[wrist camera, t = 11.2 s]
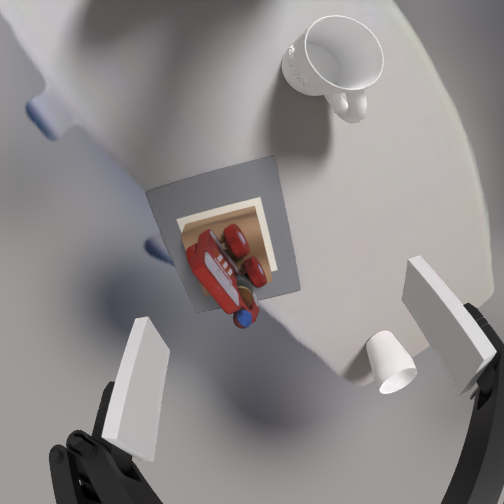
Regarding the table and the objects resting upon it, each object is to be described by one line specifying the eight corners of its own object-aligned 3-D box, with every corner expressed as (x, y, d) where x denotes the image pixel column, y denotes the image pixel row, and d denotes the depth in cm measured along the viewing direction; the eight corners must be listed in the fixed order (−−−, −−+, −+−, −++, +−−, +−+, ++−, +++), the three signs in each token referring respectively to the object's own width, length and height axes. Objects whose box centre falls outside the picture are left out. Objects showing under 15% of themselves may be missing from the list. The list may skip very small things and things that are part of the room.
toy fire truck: (229, 301, 39) (229, 356, 30) (181, 233, 34) (163, 281, 25) (272, 281, 38) (283, 335, 29) (228, 207, 32) (226, 249, 23)
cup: (394, 345, 56) (414, 383, 45) (360, 358, 57) (377, 399, 46) (397, 320, 51) (421, 361, 41) (360, 334, 52) (380, 379, 42)
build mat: (146, 191, 35) (145, 193, 35) (273, 155, 34) (274, 156, 34) (197, 310, 46) (196, 313, 45) (300, 287, 45) (300, 290, 44)
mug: (309, 131, 33) (343, 142, 22) (268, 54, 27) (284, 27, 17) (360, 110, 31) (410, 115, 21) (323, 34, 26) (360, 8, 15)
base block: (185, 223, 37) (180, 236, 34) (254, 205, 37) (257, 216, 33) (207, 280, 42) (205, 296, 39) (269, 266, 42) (273, 281, 38)
